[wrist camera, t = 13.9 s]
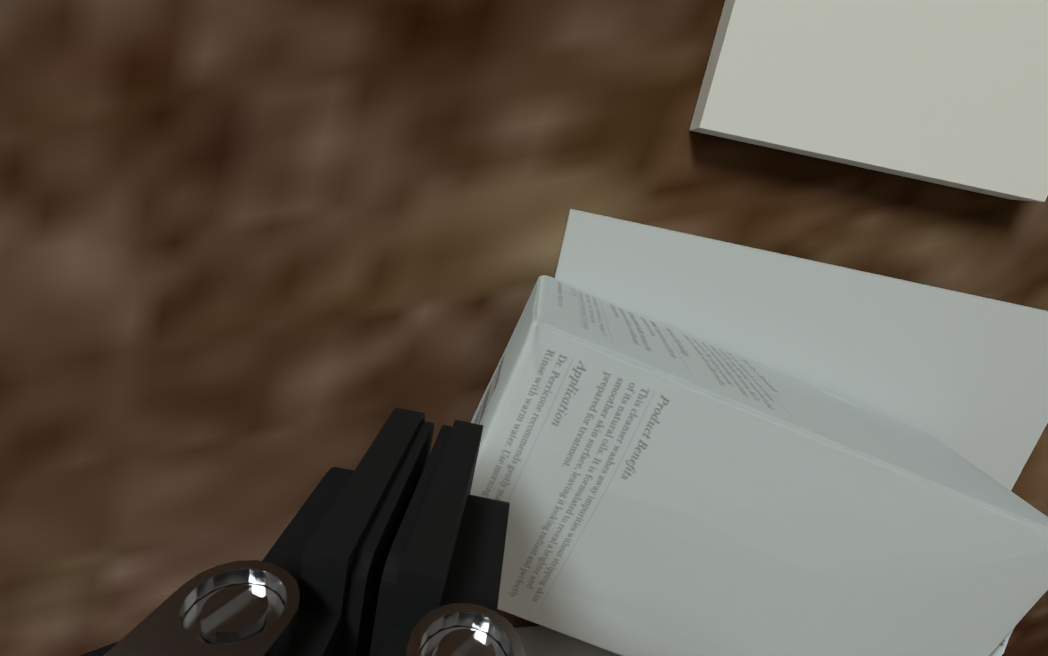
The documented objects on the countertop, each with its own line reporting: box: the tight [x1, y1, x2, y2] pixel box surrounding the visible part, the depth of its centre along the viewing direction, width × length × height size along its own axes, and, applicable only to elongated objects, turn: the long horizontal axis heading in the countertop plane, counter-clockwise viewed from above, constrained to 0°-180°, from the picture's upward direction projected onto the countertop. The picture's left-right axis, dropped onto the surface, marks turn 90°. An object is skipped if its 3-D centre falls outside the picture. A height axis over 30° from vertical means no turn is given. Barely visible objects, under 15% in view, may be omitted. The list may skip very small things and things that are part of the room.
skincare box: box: [470, 275, 1048, 656], centre depth 16 cm, size 8×6×15 cm
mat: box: [555, 209, 1048, 491], centre depth 19 cm, size 17×10×1 cm, turn 78°
